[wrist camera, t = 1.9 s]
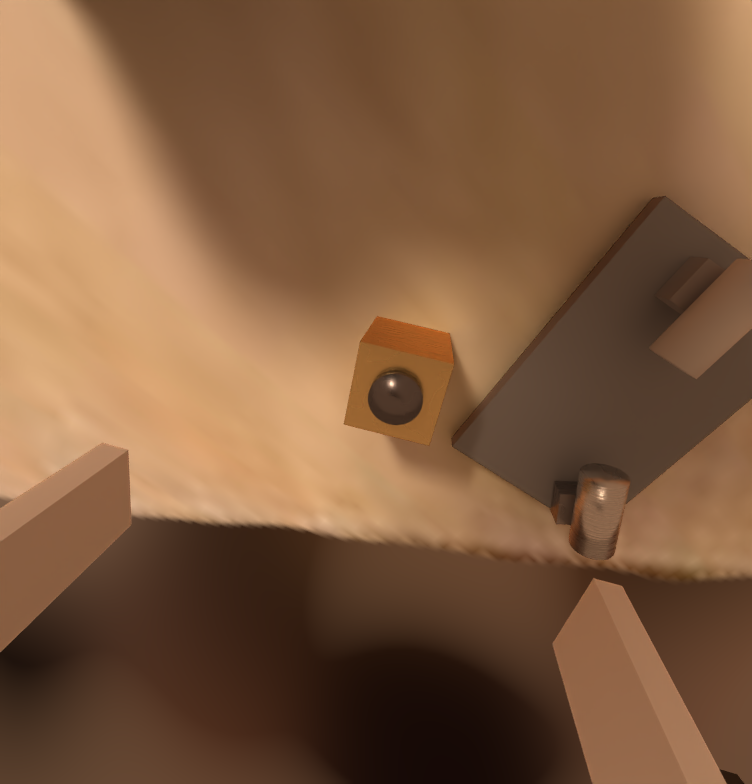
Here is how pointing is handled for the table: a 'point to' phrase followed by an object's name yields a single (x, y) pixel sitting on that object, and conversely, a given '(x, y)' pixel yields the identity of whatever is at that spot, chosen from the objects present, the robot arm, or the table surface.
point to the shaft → (592, 508)
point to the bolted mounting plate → (626, 363)
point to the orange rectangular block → (400, 380)
